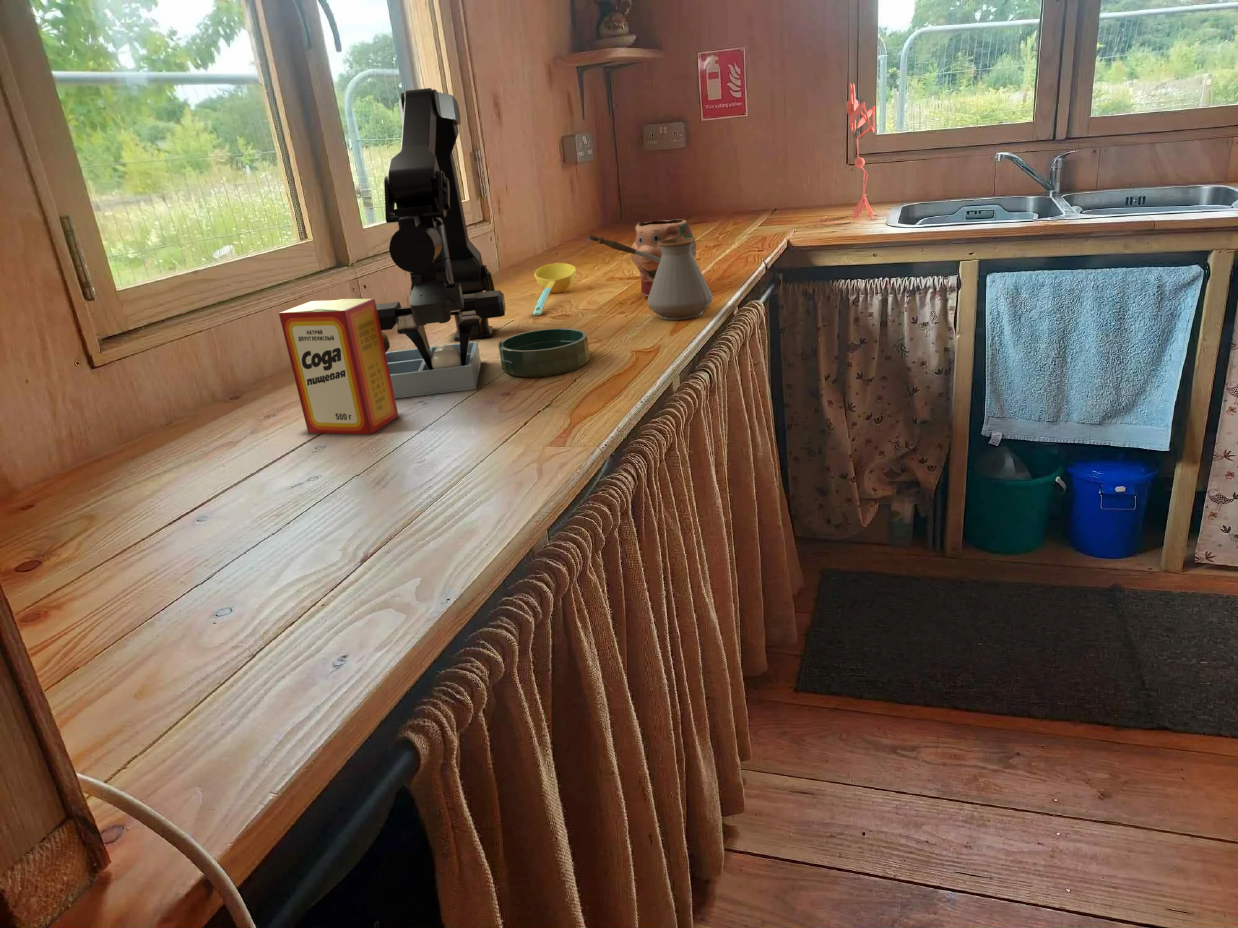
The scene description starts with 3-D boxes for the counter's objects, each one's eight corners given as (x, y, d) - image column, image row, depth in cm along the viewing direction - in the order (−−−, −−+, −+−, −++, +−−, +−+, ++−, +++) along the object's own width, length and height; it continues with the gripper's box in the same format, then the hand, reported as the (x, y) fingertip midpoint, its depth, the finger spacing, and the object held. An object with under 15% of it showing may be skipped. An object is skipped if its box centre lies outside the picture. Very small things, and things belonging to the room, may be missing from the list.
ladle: (580, 281, 189) (578, 256, 186) (562, 338, 167) (559, 311, 164) (540, 283, 190) (537, 258, 187) (517, 339, 169) (513, 312, 165)
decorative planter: (653, 282, 185) (647, 215, 179) (709, 280, 181) (705, 211, 175) (623, 304, 167) (616, 229, 162) (685, 302, 163) (680, 226, 158)
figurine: (876, 211, 254) (878, 80, 240) (876, 224, 231) (878, 80, 218) (822, 214, 258) (821, 86, 245) (817, 227, 235) (815, 86, 222)
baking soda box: (308, 432, 112) (277, 310, 106) (337, 415, 118) (310, 298, 112) (371, 433, 109) (344, 307, 103) (398, 416, 115) (374, 295, 109)
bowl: (504, 359, 137) (500, 334, 136) (587, 349, 138) (584, 324, 136) (501, 382, 125) (497, 355, 124) (592, 371, 126) (589, 344, 124)
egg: (436, 371, 128) (431, 343, 127) (464, 367, 129) (460, 340, 127) (432, 381, 123) (427, 352, 122) (462, 377, 124) (457, 349, 122)
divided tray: (387, 373, 136) (383, 352, 135) (481, 362, 137) (477, 341, 136) (371, 401, 123) (366, 378, 121) (475, 389, 123) (471, 365, 122)
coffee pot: (715, 305, 158) (710, 220, 152) (711, 320, 148) (706, 230, 142) (600, 313, 162) (591, 230, 156) (588, 328, 151) (578, 240, 146)
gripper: (349, 278, 112) (373, 393, 118) (494, 261, 113) (511, 377, 119) (364, 264, 122) (386, 371, 128) (497, 249, 123) (513, 356, 129)
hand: (448, 369), depth 126 cm, fingers closed on egg, 4 cm apart
